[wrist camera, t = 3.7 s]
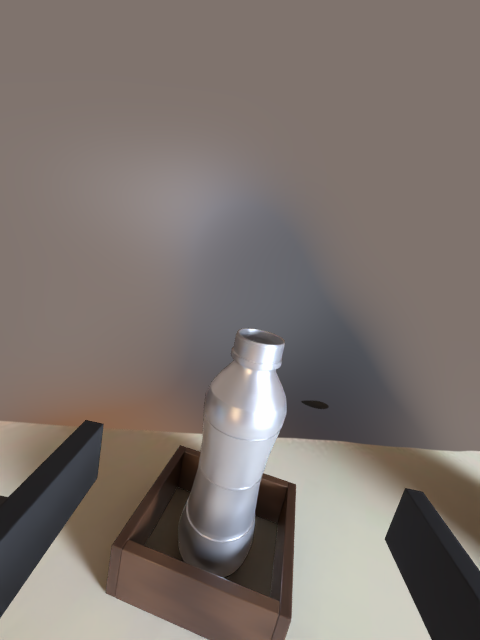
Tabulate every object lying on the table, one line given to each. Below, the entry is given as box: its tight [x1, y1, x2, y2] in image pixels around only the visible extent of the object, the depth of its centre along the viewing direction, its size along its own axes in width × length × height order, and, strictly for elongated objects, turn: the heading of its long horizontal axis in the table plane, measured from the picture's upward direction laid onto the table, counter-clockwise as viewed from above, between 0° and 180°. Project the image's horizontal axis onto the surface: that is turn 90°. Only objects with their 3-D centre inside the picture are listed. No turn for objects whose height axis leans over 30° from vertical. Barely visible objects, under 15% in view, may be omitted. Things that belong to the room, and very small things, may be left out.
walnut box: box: [106, 445, 296, 640], centre depth 25 cm, size 13×12×4 cm
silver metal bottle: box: [178, 328, 287, 578], centre depth 23 cm, size 6×7×20 cm
